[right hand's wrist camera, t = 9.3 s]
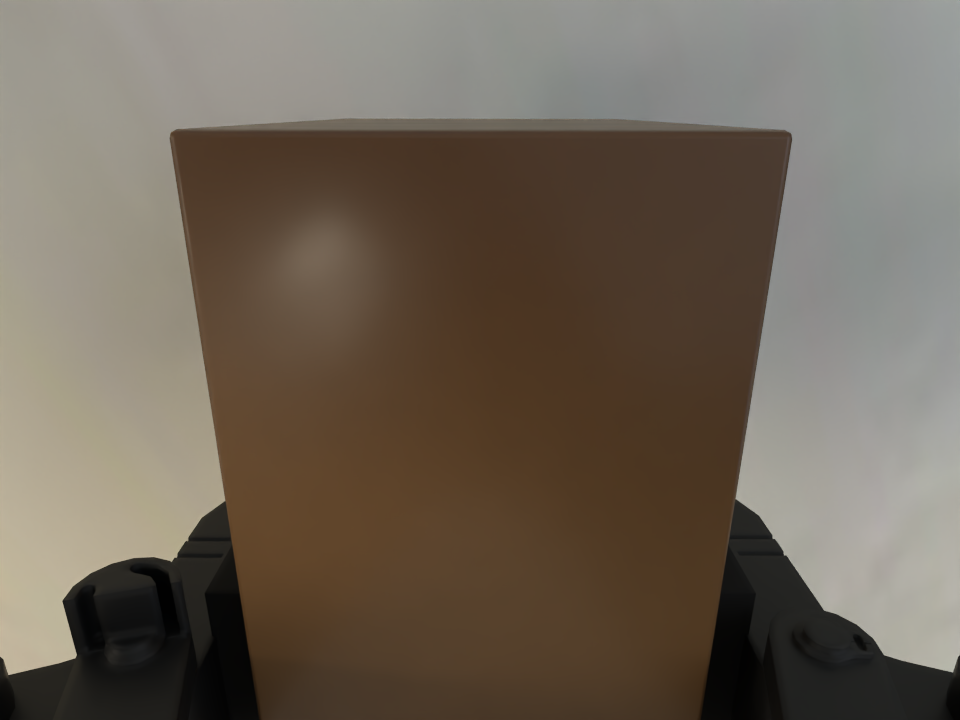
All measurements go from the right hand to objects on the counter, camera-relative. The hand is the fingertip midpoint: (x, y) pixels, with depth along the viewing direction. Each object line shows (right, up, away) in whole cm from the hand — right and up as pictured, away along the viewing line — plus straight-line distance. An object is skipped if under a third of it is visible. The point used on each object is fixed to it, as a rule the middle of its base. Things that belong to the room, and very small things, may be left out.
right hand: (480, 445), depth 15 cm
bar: (0, -19, +8) cm, 21 cm away
